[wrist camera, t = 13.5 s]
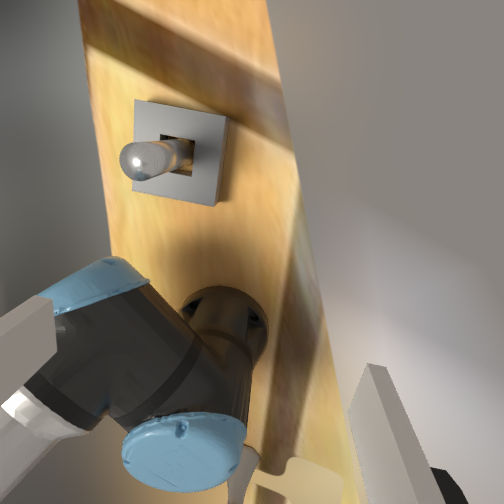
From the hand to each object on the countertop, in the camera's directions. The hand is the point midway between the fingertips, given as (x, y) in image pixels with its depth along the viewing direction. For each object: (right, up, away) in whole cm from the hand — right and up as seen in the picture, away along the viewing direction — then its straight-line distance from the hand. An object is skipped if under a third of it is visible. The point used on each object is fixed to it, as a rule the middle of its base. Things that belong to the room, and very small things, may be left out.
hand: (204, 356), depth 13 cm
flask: (0, -37, +49) cm, 61 cm away
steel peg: (-7, +18, +28) cm, 34 cm away
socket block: (-7, +17, +28) cm, 34 cm away
